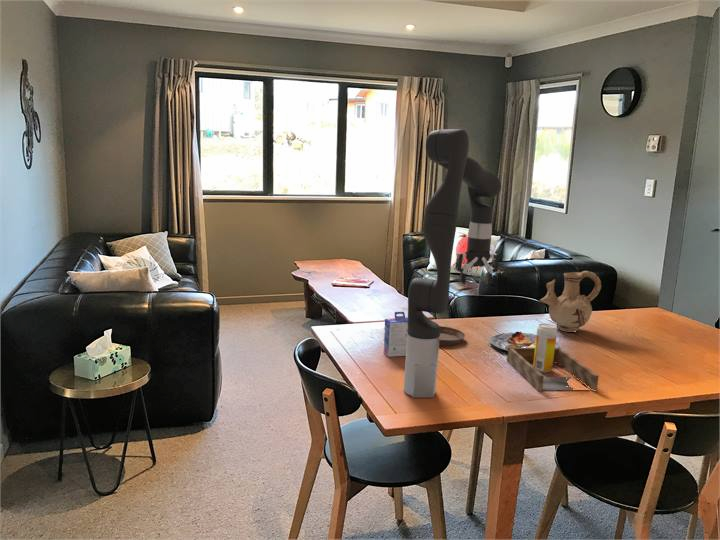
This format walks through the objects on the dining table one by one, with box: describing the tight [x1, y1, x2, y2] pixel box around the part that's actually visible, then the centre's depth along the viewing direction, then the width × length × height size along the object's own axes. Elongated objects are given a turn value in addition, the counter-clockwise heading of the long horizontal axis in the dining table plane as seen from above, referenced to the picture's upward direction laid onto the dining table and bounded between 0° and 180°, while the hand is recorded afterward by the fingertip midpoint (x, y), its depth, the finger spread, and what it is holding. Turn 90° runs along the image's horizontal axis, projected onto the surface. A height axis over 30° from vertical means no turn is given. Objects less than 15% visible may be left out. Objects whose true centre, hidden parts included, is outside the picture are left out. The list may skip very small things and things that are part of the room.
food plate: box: [488, 331, 561, 352], centre depth 212 cm, size 25×23×4 cm
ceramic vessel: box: [539, 270, 602, 333], centre depth 235 cm, size 18×19×25 cm
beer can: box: [532, 323, 558, 374], centre depth 189 cm, size 6×6×15 cm
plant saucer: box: [439, 325, 466, 347], centre depth 217 cm, size 18×18×3 cm
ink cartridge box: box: [383, 311, 408, 358], centre depth 198 cm, size 10×6×14 cm, turn 109°
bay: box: [506, 347, 600, 393], centre depth 185 cm, size 25×18×5 cm
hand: (475, 283), depth 196 cm, fingers open, 8 cm apart
